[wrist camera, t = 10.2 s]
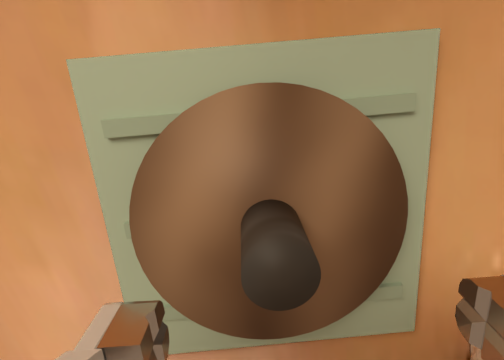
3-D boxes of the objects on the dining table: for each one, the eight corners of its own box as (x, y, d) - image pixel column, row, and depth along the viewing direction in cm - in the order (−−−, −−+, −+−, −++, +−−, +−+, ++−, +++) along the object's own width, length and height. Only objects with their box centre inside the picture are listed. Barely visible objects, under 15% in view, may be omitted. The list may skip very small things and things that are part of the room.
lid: (407, 69, 14) (491, 63, 9) (393, 316, 18) (447, 398, 13) (108, 96, 14) (42, 102, 9) (159, 339, 18) (130, 430, 13)
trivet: (432, 30, 14) (444, 26, 13) (408, 323, 19) (417, 334, 18) (73, 60, 14) (62, 59, 13) (140, 349, 19) (135, 361, 18)
